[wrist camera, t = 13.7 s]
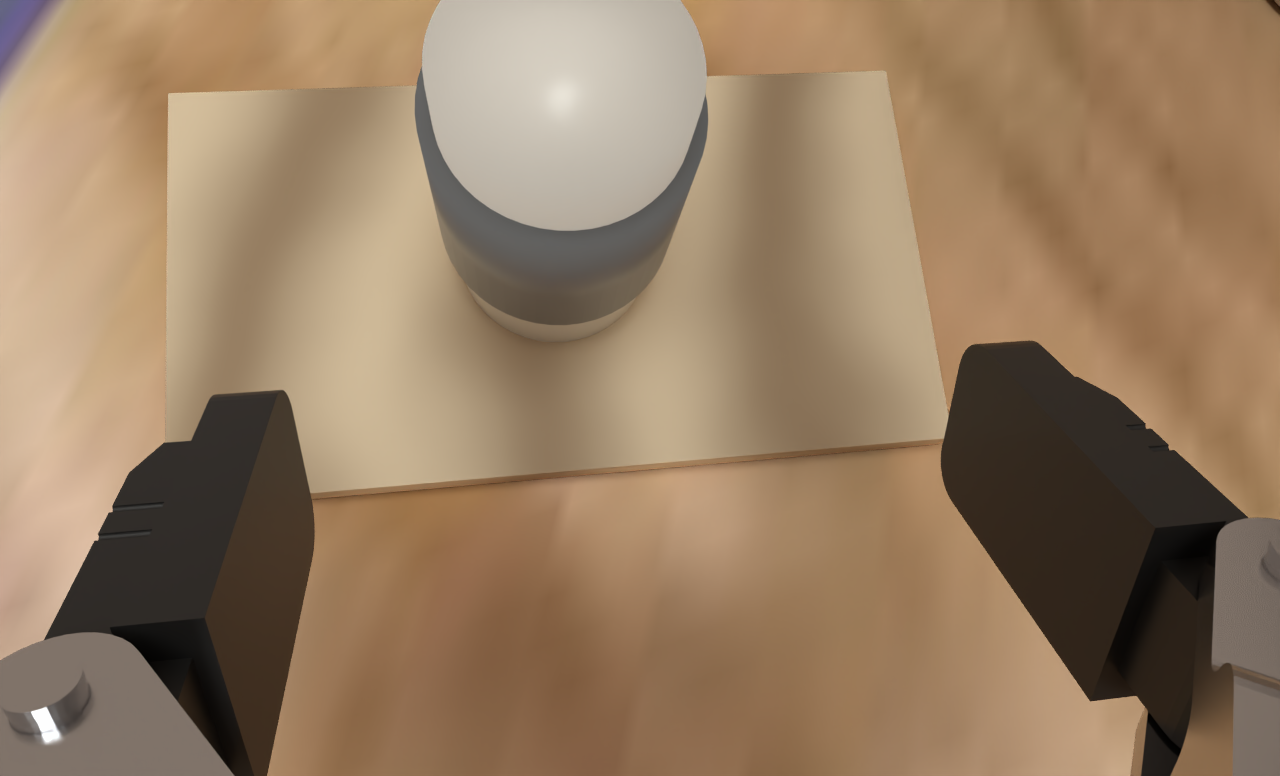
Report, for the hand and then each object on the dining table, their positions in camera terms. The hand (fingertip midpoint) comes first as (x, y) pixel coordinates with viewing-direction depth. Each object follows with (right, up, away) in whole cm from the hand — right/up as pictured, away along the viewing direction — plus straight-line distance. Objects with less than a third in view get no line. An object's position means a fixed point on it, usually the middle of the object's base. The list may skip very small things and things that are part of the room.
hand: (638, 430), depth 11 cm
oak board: (-2, +4, +15) cm, 16 cm away
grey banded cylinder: (-2, +4, +14) cm, 15 cm away
